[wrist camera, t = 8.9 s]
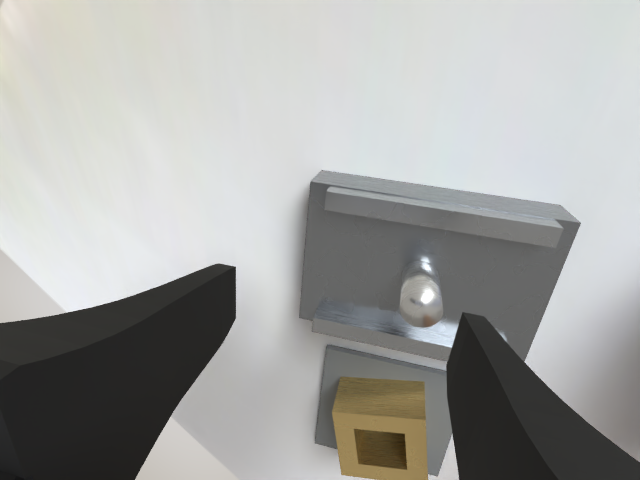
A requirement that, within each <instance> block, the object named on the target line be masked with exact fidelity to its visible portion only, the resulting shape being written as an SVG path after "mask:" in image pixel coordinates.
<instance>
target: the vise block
mask: <svg viewBox="0 0 640 480" xmlns="http://www.w3.org/2000/svg"><path fill="white" fill-rule="evenodd" d="M580 224H581V223H580V222H579V221H578V220H577V219H576V218H575V217H574V216H572V215H571V214H570V213H569V212H568V211H567V210H565V209H564V208H563V207H562V206H561V205H555V204H549V203H542V202H535V201H528V200H521V199H515V198H508V197H501V196H494V195H487V194H480V193H474V192H467V191H460V190H453V189H446V188H439V187H433V186H426V185H419V184H412V183H405V182H399V181H392V180H385V179H378V178H371V177H364V176H358V175H351V174H344V173H337V172H330V171H323V170H322V171H321V172H320V173H319V174H318V175H317V176H316V177H315V178H314V179H313V180H312V181H311V182H310V194H309V206H308V218H307V230H306V242H305V254H304V266H303V278H302V290H301V302H300V314H299V318H302V319H307V320H311V321H313V327H312V332H317V333H321V334H326V335H330V336H335V337H339V338H344V339H348V340H353V341H357V342H362V343H366V344H371V345H375V346H380V347H384V348H389V349H393V350H398V351H402V352H407V353H412V354H416V355H421V356H425V357H430V358H434V359H439V360H443V361H448V359H449V355H450V352H451V349H452V345H453V342H454V339H455V335H456V332H457V329H458V325H459V322H460V318H461V315H462V312H465V313H470V314H475V315H480V316H484V317H485V318H486V319H487V320H488V321H489V322H490V323H491V324H492V326H493V327H494V328H495V329H496V330H497V332H498V333H499V334H500V335H501V336H502V337H503V339H504V340H505V341H506V342H507V343H508V344H509V346H510V347H511V348H512V349H513V350H514V351H515V352H516V354H517V355H518V356H519V357H520V358H521V359H522V360H523V361H525V359H526V357H527V354H528V352H529V349H530V347H531V344H532V342H533V339H534V337H535V334H536V332H537V329H538V327H539V325H540V322H541V320H542V317H543V315H544V312H545V310H546V307H547V305H548V302H549V300H550V297H551V295H552V293H553V290H554V288H555V285H556V283H557V280H558V278H559V275H560V273H561V270H562V268H563V265H564V263H565V261H566V258H567V256H568V253H569V251H570V248H571V246H572V243H573V241H574V238H575V236H576V233H577V231H578V229H579V226H580Z"/></svg>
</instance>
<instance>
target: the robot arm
mask: <svg viewBox="0 0 640 480" xmlns="http://www.w3.org/2000/svg"><path fill="white" fill-rule="evenodd" d="M235 319H236V267H234V266H229V265H224V264H215V265H212V266H209V267H206V268H204V269H201V270H199V271H196V272H194V273H191V274H189V275H186V276H184V277H181V278H179V279H176V280H174V281H171V282H169V283H167V284H164V285H161V286H159V287H156V288H153V289H150V290H147V291H145V292H142V293H139V294H136V295H134V296H131V297H127V298H124V299H121V300H118V301H114V302H111V303H107V304H103V305H100V306H96V307H92V308H87V309H82V310H78V311H73V312H68V313H64V314H59V315H54V316H49V317H42V318H36V319H30V320H22V321H15V322H7V323H0V480H135V478H136V476H137V474H138V473H139V471H140V468H141V467H142V465H143V464H144V462H145V460H146V458H147V456H148V455H149V453H150V451H151V449H152V447H153V446H154V444H155V442H156V440H157V438H158V437H159V435H160V433H161V432H162V430H163V428H164V427H165V425H166V423H167V422H168V420H169V418H170V416H171V415H172V413H173V411H174V410H175V408H176V407H177V405H178V404H179V402H180V401H181V399H182V398H183V396H184V395H185V394H186V392H187V391H188V390H189V388H190V387H191V386H192V384H193V383H194V382H195V380H196V379H197V377H198V376H199V375H200V373H201V372H202V371H203V369H204V368H205V367H206V365H207V364H208V363H209V361H210V360H211V358H212V357H213V356H214V354H215V353H216V352H217V350H218V349H219V347H220V346H221V345H222V343H223V341H224V339H225V338H226V336H227V334H228V332H229V330H230V328H231V327H232V325H233V323H234V321H235ZM447 400H448V407H449V413H450V420H451V427H452V433H453V440H454V446H455V453H456V459H457V466H458V472H459V480H640V462H638V461H637V460H635V459H634V458H633V457H631V456H630V455H629V454H627V453H626V452H625V451H623V450H622V449H621V448H619V447H618V446H617V445H615V444H614V443H613V442H612V441H610V440H609V439H608V438H606V437H605V436H604V435H602V434H601V433H600V432H599V431H597V430H596V429H595V428H594V427H592V426H591V425H590V424H589V423H588V422H586V421H585V420H584V419H583V418H582V417H581V416H580V415H578V414H577V413H576V412H575V411H574V410H573V409H571V408H570V407H569V406H568V405H567V404H566V403H565V402H564V401H562V400H561V399H560V398H559V397H558V396H557V395H556V394H555V393H554V392H553V391H552V390H551V389H550V388H549V387H548V386H547V385H546V384H545V383H544V382H543V381H542V380H541V379H540V378H539V377H538V376H537V375H536V374H535V373H534V372H533V371H532V370H531V369H530V368H529V367H528V366H527V365H526V364H525V362H524V361H523V360H522V359H521V358H520V357H519V356H518V355H517V354H516V352H515V351H514V350H513V349H512V348H511V347H510V346H509V344H508V343H507V342H506V341H505V340H504V339H503V337H502V336H501V335H500V334H499V333H498V332H497V330H496V329H495V328H494V327H493V326H492V324H491V323H490V322H489V321H488V320H487V319H486V318H485V317H484V316H480V315H475V314H470V313H465V312H462V315H461V318H460V322H459V325H458V329H457V332H456V335H455V339H454V342H453V345H452V349H451V352H450V355H449V359H448V362H447Z"/></svg>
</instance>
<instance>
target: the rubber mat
mask: <svg viewBox="0 0 640 480" xmlns="http://www.w3.org/2000/svg"><path fill="white" fill-rule="evenodd" d="M340 377H358V378H375V379H391V380H408V381H424V382H425V411H426V439H427V468H428V474H430V475H434V476H438V474H439V471H440V468H441V465H442V462H443V459H444V456H445V453H446V450H447V447H448V444H449V441H450V438H451V435H452V427H451V420H450V413H449V407H448V400H447V371H443V370H438V369H434V368H429V367H425V366H421V365H416V364H412V363H407V362H403V361H398V360H394V359H390V358H385V357H381V356H376V355H372V354H367V353H363V352H359V351H354V350H350V349H345V348H341V347H336V346H332V345H327V348H326V356H325V364H324V373H323V381H322V389H321V397H320V405H319V413H318V421H317V429H316V437H315V443H317V444H320V445H324V446H328V447H331V448H335V449H338V448H337V441H336V435H335V429H334V422H333V416H332V410H333V406H334V402H335V398H336V394H337V390H338V385H339V381H340Z"/></svg>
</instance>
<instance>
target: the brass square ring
mask: <svg viewBox="0 0 640 480" xmlns="http://www.w3.org/2000/svg"><path fill="white" fill-rule="evenodd" d="M332 416H333V422H334V429H335V435H336V441H337V448H338V454H339V461H340V467H341V474H342V475H346V476H354V477H361V478H369V479H377V480H428V468H427V439H426V411H425V382H424V381H408V380H391V379H375V378H358V377H340V381H339V385H338V390H337V394H336V398H335V402H334V406H333V410H332Z"/></svg>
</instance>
